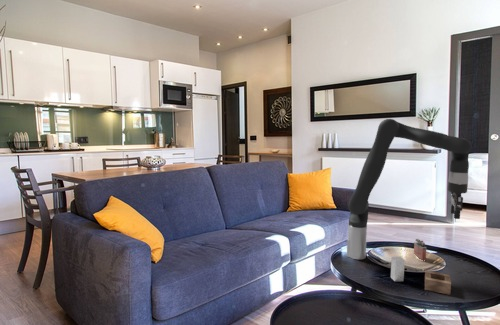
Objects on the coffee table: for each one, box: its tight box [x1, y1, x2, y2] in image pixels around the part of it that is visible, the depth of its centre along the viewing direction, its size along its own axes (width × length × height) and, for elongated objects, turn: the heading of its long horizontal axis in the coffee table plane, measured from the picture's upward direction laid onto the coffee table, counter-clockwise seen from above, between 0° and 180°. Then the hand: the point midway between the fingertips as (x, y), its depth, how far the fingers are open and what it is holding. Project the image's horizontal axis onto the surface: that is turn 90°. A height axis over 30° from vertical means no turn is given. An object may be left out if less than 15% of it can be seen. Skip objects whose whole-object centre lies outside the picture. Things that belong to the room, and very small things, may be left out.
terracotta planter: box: [413, 238, 428, 261], centre depth 171 cm, size 8×3×10 cm, turn 9°
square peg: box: [390, 256, 405, 282], centre depth 149 cm, size 4×4×10 cm
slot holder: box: [424, 269, 452, 296], centre depth 142 cm, size 9×9×5 cm
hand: (455, 216), depth 151 cm, fingers open, 8 cm apart
